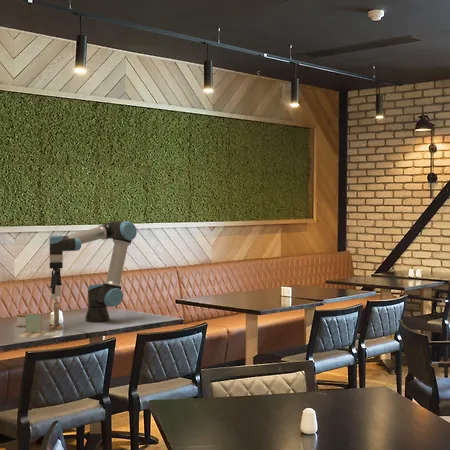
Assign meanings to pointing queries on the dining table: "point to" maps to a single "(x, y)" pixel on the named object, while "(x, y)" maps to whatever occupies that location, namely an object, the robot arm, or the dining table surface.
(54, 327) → the pusher
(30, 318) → the tile
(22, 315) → the lidded jar
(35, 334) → the board
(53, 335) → the rest pad
